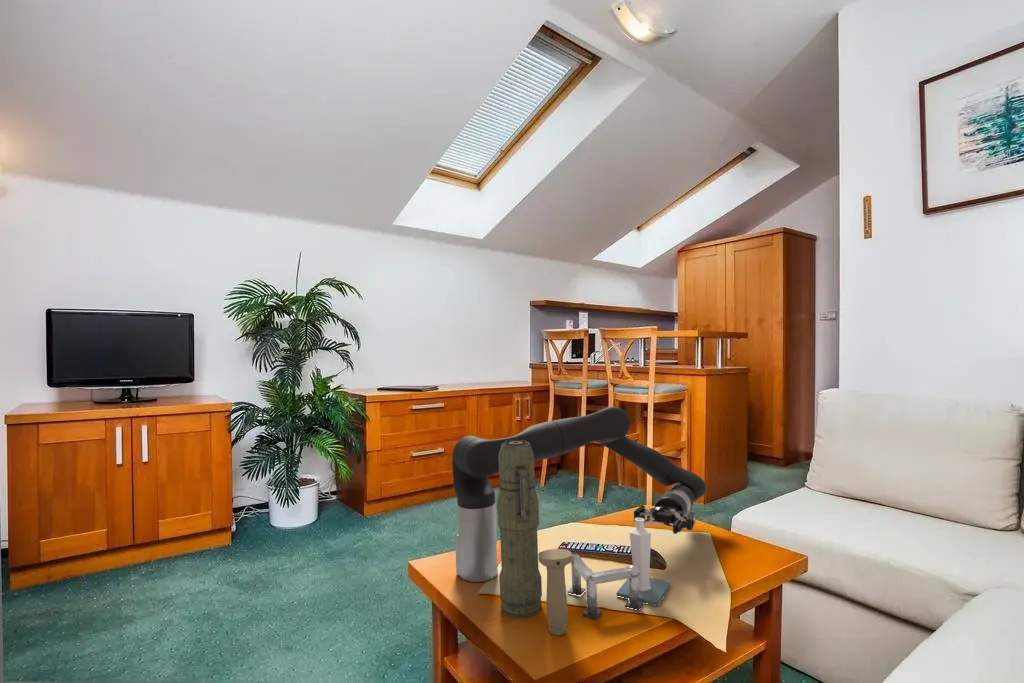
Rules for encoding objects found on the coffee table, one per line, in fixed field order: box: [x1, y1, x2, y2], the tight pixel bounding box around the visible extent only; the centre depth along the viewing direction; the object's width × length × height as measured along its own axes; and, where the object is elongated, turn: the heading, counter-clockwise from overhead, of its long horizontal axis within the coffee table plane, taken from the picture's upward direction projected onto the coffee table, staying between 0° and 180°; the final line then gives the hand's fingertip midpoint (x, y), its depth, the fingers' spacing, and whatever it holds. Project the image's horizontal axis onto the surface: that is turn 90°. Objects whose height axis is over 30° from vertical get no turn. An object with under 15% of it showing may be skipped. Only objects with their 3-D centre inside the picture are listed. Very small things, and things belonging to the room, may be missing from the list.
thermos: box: [496, 440, 543, 619], centre depth 110 cm, size 9×12×35 cm
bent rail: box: [567, 553, 644, 621], centre depth 109 cm, size 16×10×8 cm, turn 59°
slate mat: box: [616, 577, 671, 607], centre depth 115 cm, size 9×10×1 cm
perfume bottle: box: [629, 518, 652, 591], centre depth 115 cm, size 5×4×15 cm
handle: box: [538, 548, 573, 637], centre depth 100 cm, size 5×6×15 cm
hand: (656, 526), depth 124 cm, fingers open, 8 cm apart
